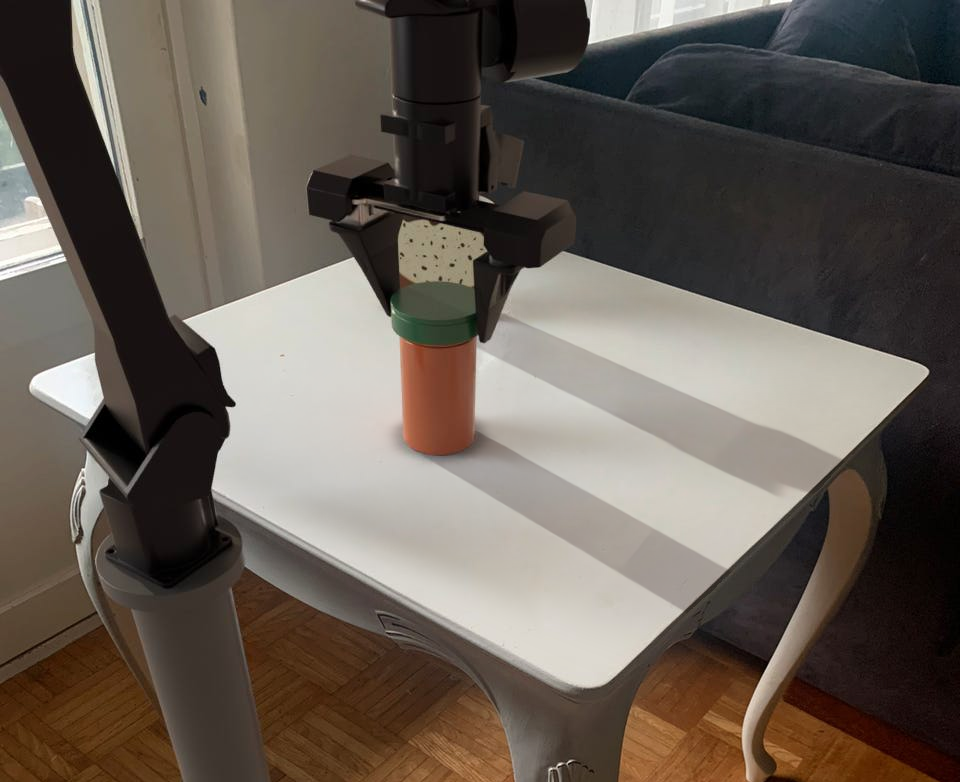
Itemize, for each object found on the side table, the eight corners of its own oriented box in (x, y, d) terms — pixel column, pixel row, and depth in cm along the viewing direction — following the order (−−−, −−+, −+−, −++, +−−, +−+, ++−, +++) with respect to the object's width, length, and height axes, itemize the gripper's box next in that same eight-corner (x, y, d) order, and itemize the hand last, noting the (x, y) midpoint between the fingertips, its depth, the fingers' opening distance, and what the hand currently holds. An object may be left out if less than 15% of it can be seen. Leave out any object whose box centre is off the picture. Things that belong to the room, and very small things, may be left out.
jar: (448, 463, 74) (448, 334, 67) (388, 440, 76) (382, 313, 69) (488, 431, 78) (492, 306, 70) (430, 411, 80) (428, 287, 73)
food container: (516, 299, 97) (521, 197, 90) (497, 324, 93) (501, 218, 86) (404, 281, 100) (401, 180, 93) (381, 304, 95) (376, 200, 89)
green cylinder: (428, 297, 74) (427, 273, 73) (502, 320, 71) (503, 295, 70) (372, 329, 70) (371, 304, 68) (449, 354, 67) (449, 329, 66)
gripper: (622, 88, 62) (597, 318, 73) (386, 50, 69) (394, 265, 79) (544, 128, 55) (529, 376, 65) (289, 81, 61) (313, 313, 72)
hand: (438, 327), depth 71 cm, fingers open, 8 cm apart
